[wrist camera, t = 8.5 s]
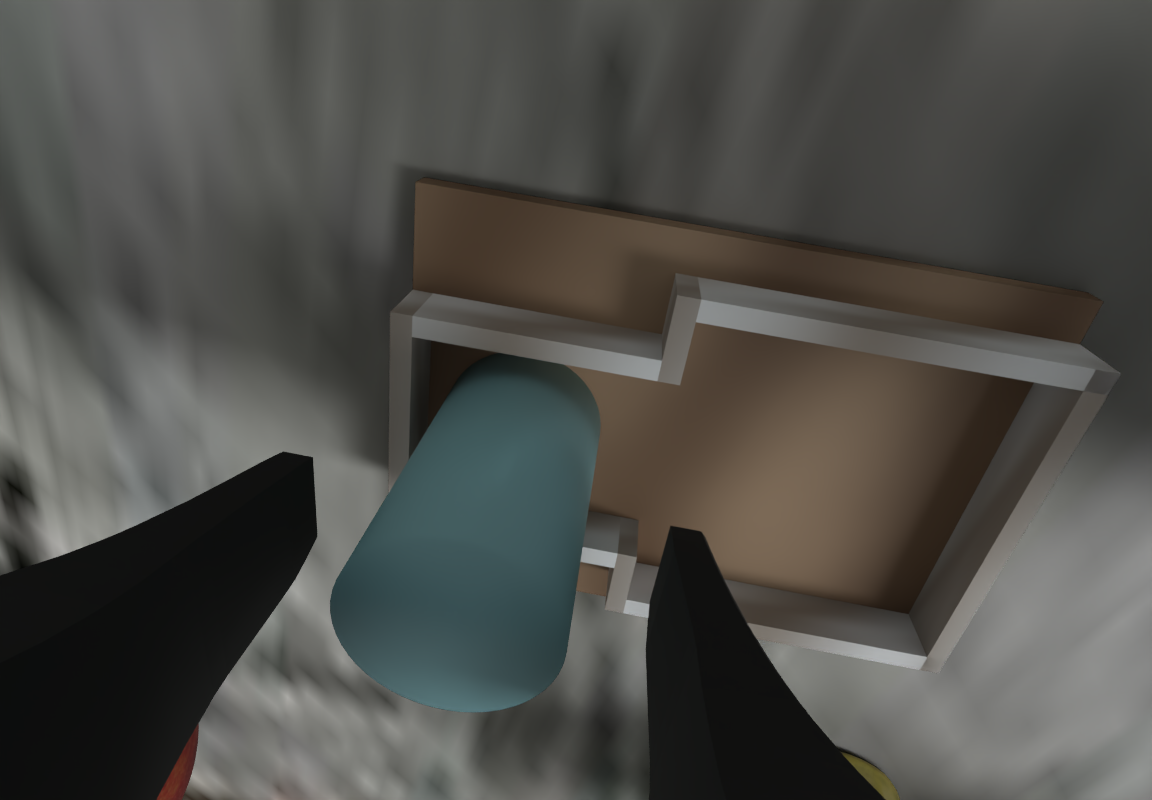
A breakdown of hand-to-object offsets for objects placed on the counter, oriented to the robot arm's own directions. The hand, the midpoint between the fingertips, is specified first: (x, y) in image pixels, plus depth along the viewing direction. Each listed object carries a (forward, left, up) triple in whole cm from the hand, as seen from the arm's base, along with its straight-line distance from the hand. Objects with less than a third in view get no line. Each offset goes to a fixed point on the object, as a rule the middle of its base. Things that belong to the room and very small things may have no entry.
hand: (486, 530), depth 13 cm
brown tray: (-4, 0, -5) cm, 7 cm away
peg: (0, 0, -4) cm, 4 cm away
